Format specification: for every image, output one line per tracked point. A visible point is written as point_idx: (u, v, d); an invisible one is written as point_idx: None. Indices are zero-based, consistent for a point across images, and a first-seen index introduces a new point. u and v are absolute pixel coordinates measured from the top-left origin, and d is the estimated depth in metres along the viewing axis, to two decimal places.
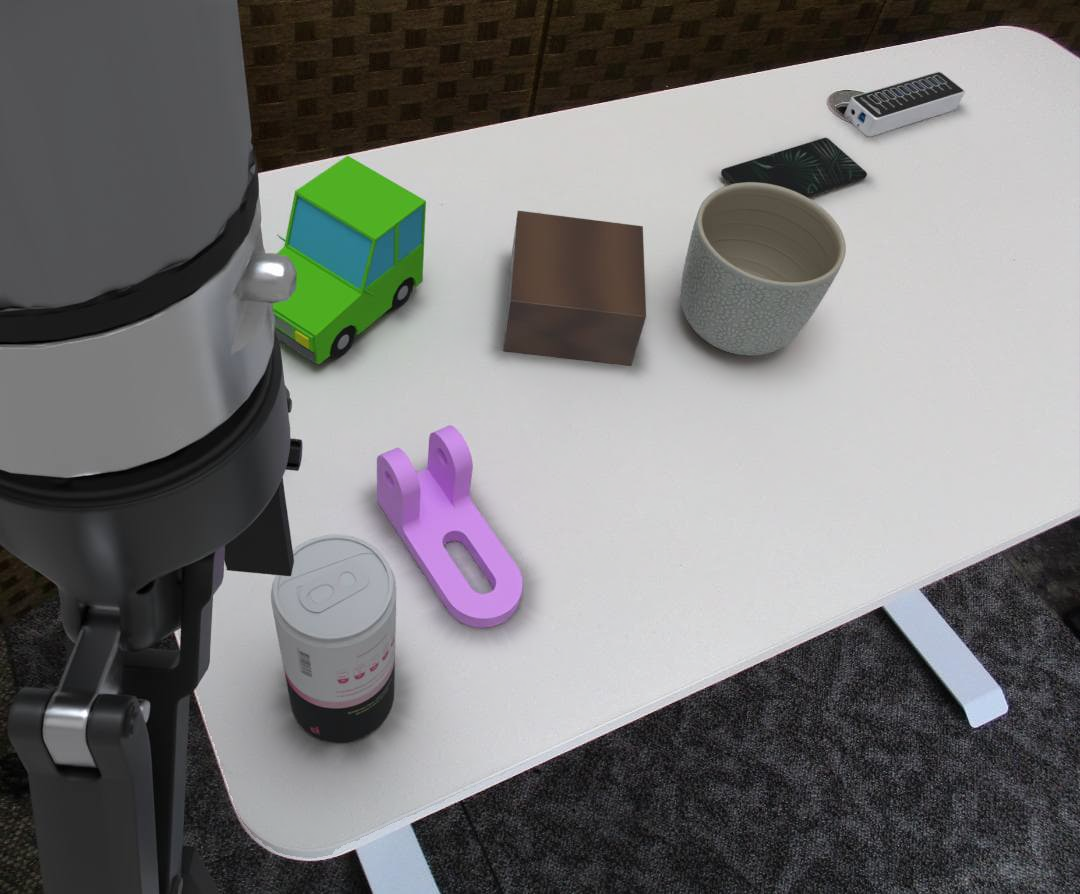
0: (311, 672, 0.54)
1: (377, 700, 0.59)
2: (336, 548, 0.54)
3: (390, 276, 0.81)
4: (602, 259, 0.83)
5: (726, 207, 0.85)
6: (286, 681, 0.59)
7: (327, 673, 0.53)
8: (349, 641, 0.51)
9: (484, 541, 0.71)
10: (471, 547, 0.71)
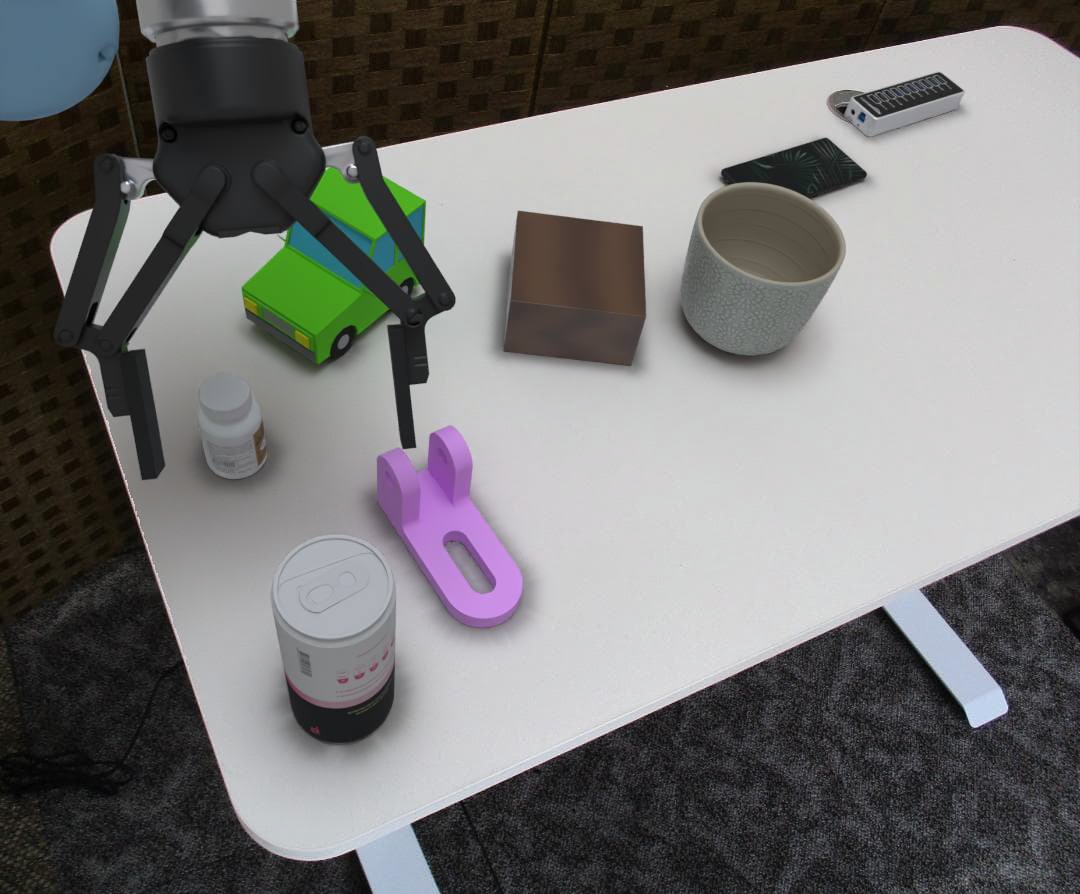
0: (311, 672, 0.54)
1: (377, 700, 0.59)
2: (336, 548, 0.54)
3: (390, 276, 0.81)
4: (602, 259, 0.83)
5: (726, 207, 0.85)
6: (286, 681, 0.59)
7: (327, 672, 0.53)
8: (349, 642, 0.51)
9: (484, 541, 0.71)
10: (471, 547, 0.71)
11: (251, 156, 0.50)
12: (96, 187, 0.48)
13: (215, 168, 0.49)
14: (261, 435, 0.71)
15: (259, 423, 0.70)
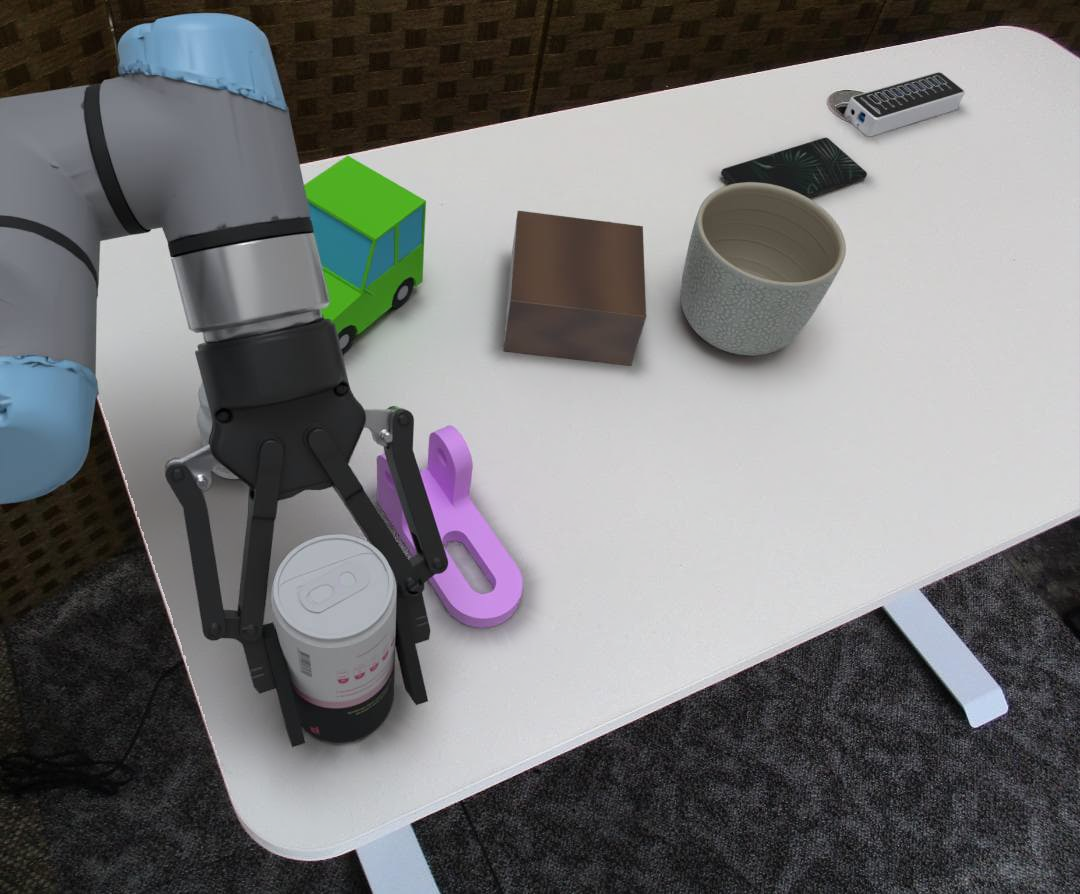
0: (311, 672, 0.54)
1: (377, 700, 0.59)
2: (336, 548, 0.54)
3: (390, 276, 0.81)
4: (602, 259, 0.83)
5: (726, 207, 0.85)
6: None
7: (328, 673, 0.53)
8: (349, 641, 0.51)
9: (484, 541, 0.71)
10: (471, 547, 0.71)
11: (303, 407, 0.54)
12: (178, 497, 0.52)
13: (269, 441, 0.52)
14: None
15: None
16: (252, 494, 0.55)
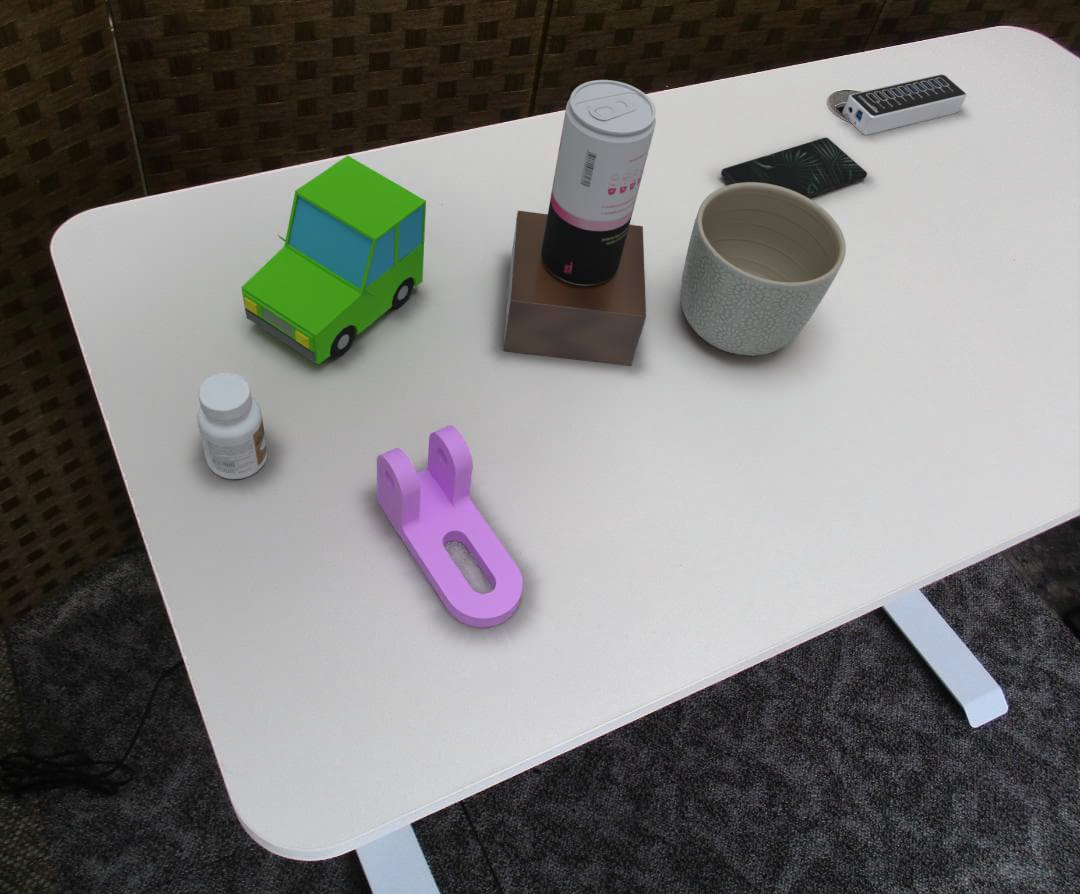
0: (590, 180, 0.72)
1: (621, 236, 0.78)
2: (609, 88, 0.72)
3: (390, 276, 0.81)
4: None
5: (726, 207, 0.85)
6: (551, 222, 0.78)
7: (604, 178, 0.72)
8: (629, 139, 0.70)
9: (484, 541, 0.71)
10: (471, 547, 0.71)
11: None
12: None
13: None
14: (261, 435, 0.71)
15: (259, 423, 0.70)
16: None
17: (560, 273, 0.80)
